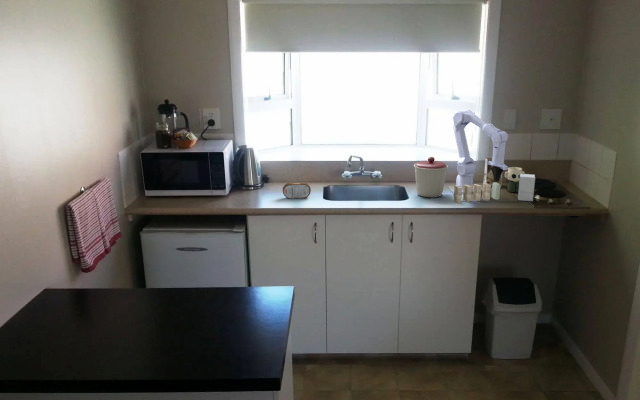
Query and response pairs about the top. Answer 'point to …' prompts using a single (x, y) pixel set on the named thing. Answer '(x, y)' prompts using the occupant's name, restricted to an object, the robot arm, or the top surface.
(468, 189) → the domino
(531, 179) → the supplement box
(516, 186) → the character mug
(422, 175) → the canister
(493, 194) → the end domino
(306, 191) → the tin
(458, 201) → the domino
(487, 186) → the domino
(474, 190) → the domino
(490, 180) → the coffee box
